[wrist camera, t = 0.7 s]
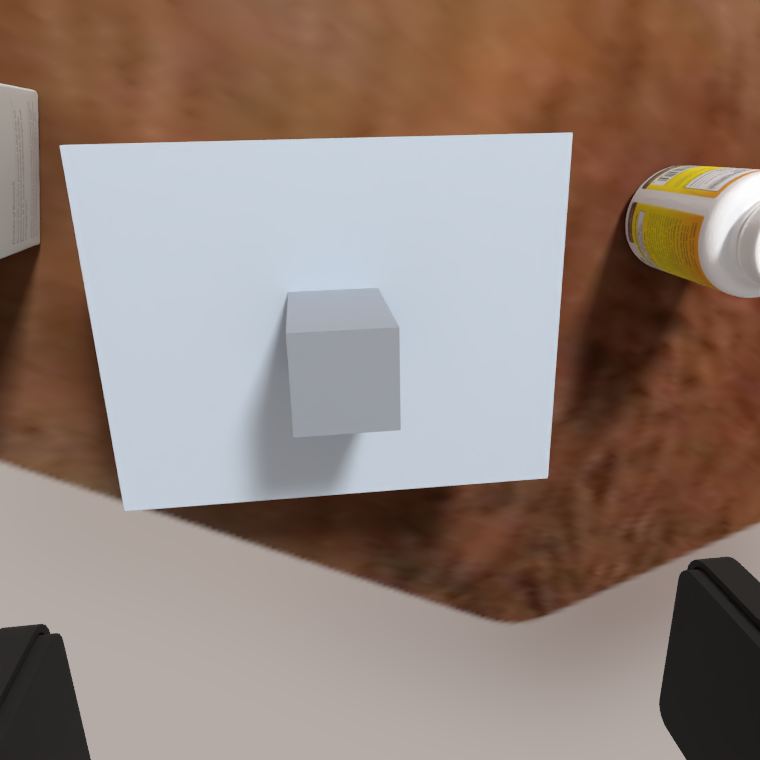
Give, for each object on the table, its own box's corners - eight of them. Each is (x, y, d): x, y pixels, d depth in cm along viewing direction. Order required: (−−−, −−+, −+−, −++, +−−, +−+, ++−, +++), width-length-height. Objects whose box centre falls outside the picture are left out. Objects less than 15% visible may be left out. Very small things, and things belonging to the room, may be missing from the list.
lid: (563, 132, 27) (649, 130, 20) (540, 468, 32) (603, 553, 25) (68, 144, 25) (-14, 147, 18) (129, 499, 30) (83, 601, 23)
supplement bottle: (672, 286, 38) (798, 335, 28) (600, 233, 36) (708, 266, 27) (737, 201, 37) (892, 223, 27) (666, 142, 35) (803, 144, 26)
